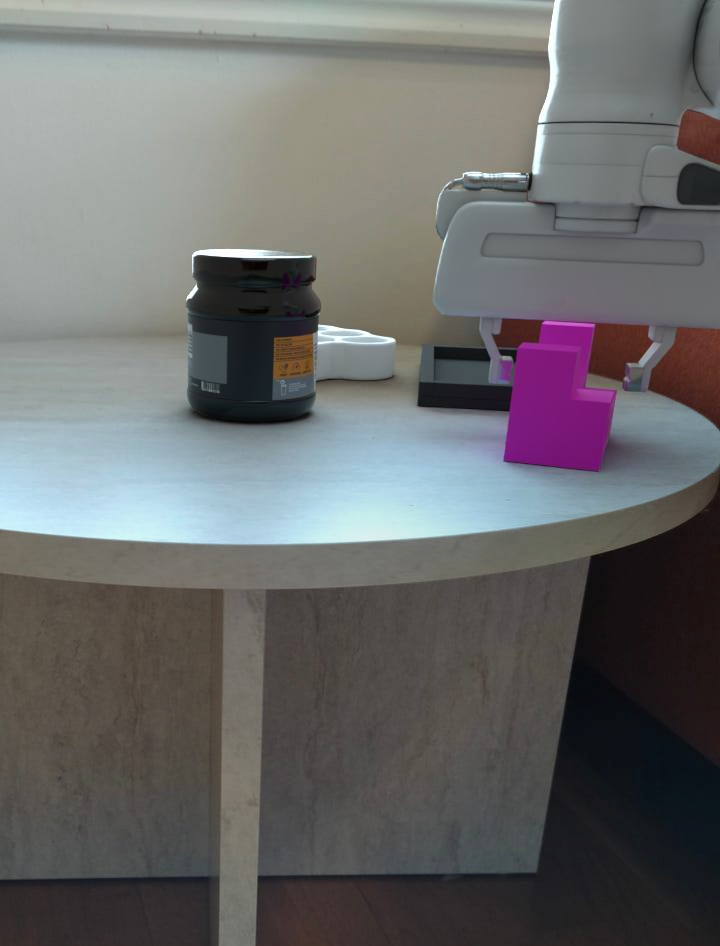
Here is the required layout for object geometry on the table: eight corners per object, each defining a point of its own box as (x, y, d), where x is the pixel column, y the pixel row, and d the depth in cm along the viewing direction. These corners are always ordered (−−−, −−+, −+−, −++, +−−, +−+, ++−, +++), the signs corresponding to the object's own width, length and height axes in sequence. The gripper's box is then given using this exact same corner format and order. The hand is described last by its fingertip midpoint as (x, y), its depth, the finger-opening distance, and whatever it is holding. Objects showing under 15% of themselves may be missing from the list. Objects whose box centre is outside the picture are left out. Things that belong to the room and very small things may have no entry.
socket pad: (534, 369, 103) (537, 348, 102) (556, 413, 84) (560, 388, 83) (420, 363, 105) (422, 343, 104) (417, 405, 86) (419, 381, 85)
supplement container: (342, 412, 83) (351, 255, 78) (251, 431, 76) (255, 260, 71) (251, 392, 90) (254, 246, 85) (159, 408, 83) (157, 251, 78)
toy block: (599, 471, 67) (618, 355, 64) (503, 460, 70) (517, 347, 66) (612, 425, 80) (629, 326, 77) (531, 417, 82) (544, 320, 79)
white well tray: (190, 363, 103) (290, 349, 112) (322, 390, 91) (422, 372, 100) (190, 328, 101) (292, 317, 111) (324, 352, 90) (426, 337, 99)
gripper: (440, 170, 66) (419, 385, 72) (774, 180, 63) (724, 404, 69) (440, 171, 72) (420, 370, 78) (747, 180, 69) (702, 387, 75)
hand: (565, 386), depth 73 cm, fingers open, 8 cm apart
